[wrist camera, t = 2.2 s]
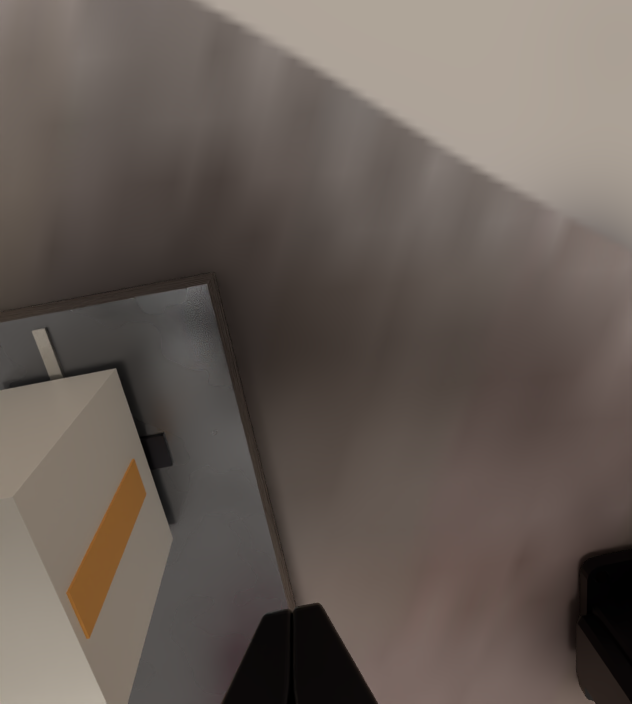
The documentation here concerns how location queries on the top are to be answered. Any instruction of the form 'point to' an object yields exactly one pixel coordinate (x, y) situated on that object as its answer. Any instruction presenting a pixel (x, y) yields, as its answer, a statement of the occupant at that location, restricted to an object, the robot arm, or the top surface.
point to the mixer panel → (175, 466)
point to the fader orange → (75, 542)
